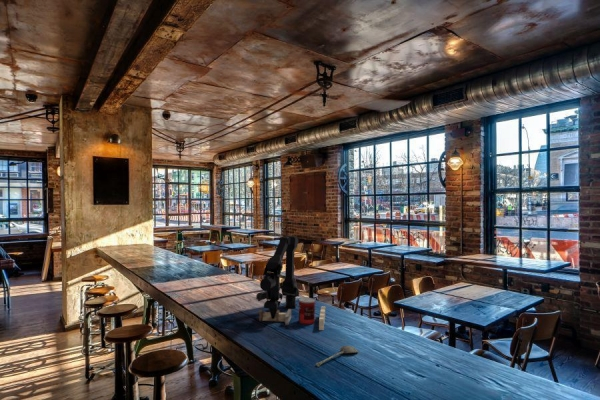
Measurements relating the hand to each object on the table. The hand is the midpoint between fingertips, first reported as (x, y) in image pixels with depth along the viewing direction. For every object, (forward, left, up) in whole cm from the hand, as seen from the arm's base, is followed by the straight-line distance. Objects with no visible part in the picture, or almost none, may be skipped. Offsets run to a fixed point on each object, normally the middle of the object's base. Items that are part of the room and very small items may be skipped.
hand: (273, 317), depth 175 cm
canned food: (0, +17, -2) cm, 17 cm away
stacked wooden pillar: (0, +1, -1) cm, 1 cm away
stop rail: (0, +24, -1) cm, 24 cm away
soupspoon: (+37, +32, -2) cm, 49 cm away
